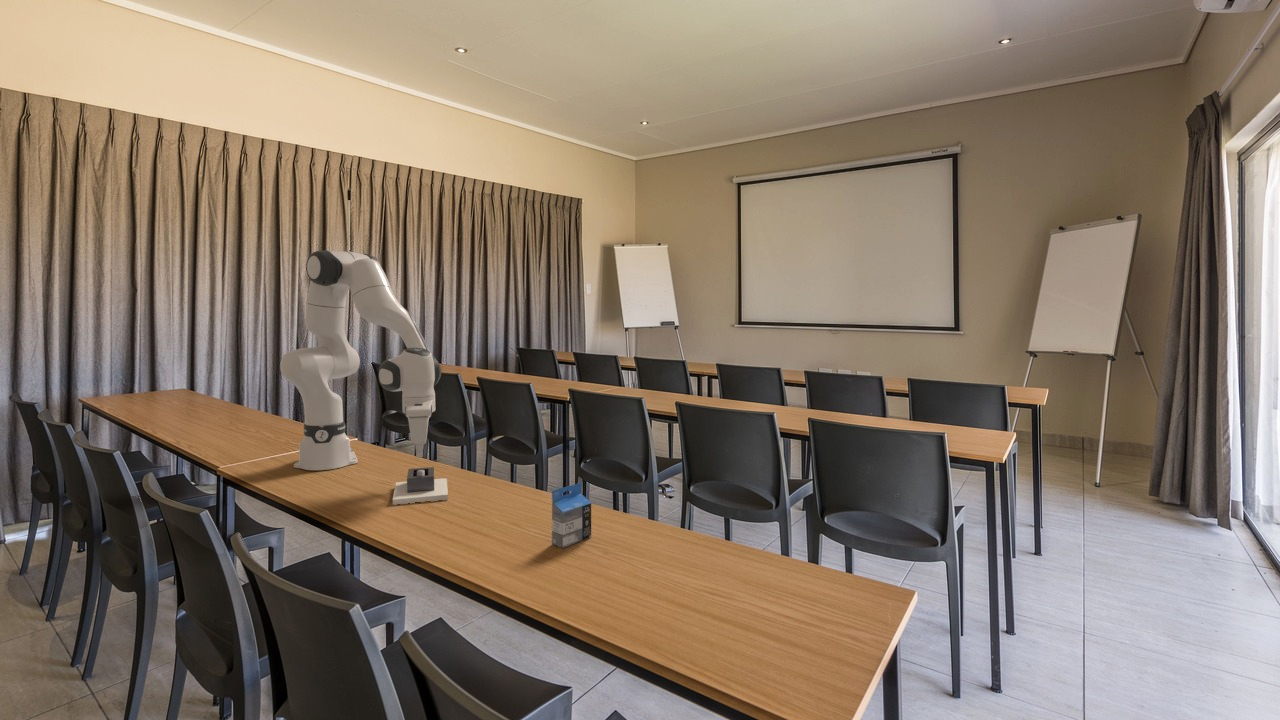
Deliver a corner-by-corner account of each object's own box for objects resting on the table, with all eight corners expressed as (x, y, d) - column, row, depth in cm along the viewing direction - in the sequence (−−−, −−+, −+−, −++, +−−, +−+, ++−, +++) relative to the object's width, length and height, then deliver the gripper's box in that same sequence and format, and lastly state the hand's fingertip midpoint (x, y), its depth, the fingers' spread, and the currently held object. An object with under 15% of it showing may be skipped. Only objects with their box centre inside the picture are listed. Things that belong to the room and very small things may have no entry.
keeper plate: (396, 487, 175) (395, 465, 175) (446, 483, 180) (446, 461, 179) (392, 505, 160) (392, 481, 160) (448, 499, 165) (447, 476, 164)
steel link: (408, 482, 175) (408, 468, 175) (434, 480, 177) (433, 466, 177) (407, 492, 166) (406, 478, 165) (434, 490, 168) (433, 476, 168)
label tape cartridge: (562, 549, 133) (562, 494, 132) (551, 544, 135) (550, 491, 134) (592, 537, 139) (591, 485, 138) (580, 533, 142) (580, 482, 141)
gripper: (408, 399, 180) (409, 445, 182) (405, 412, 161) (406, 462, 163) (430, 398, 182) (431, 443, 184) (430, 411, 163) (431, 461, 165)
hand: (420, 452), depth 173 cm, fingers open, 8 cm apart
